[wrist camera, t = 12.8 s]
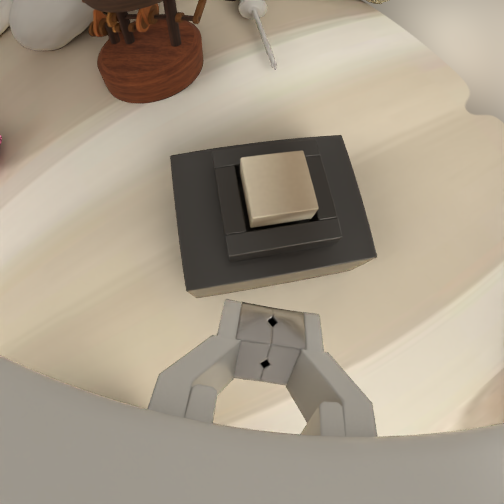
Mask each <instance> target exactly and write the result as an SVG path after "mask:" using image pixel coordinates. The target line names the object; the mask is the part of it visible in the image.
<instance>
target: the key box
mask: <svg viewBox="0 0 504 504" xmlns="http://www.w3.org/2000/svg"><path fill="white" fill-rule="evenodd" d="M292 151H304V155H305V158H306V162H307V165H308V169H309V173H310V176H311V180H312V184H313V188H314V192H315V195H316V199H317V203H318V207H319V209H318V210H317V212H316V213H315V214H314V216H313V217H312V218H311V219H306V220H299V221H293V222H286V223H280V224H273V225H267V226H261V227H254V228H251V227H250V223H249V218H248V213H247V207H246V202H245V197H244V191H243V186H242V181H241V175H240V159H241V158H242V157H250V156H258V155H266V154H274V153H283V152H292ZM170 160H171V171H172V181H173V191H174V200H175V210H176V218H177V227H178V235H179V243H180V250H181V258H182V265H183V272H184V279H185V285H186V291H187V292H189V293H190V294H192V295H193V296H195V297H196V298H201V297H207V296H213V295H219V294H225V293H231V292H237V291H243V290H249V289H255V288H260V287H266V286H271V285H277V284H282V283H288V282H293V281H299V280H304V279H309V278H314V277H320V276H325V275H330V274H335V273H340V272H345V271H350V270H352V269H354V268H356V267H358V266H360V265H362V264H364V263H366V262H368V261H370V260H372V259H374V258H376V257H377V255H376V250H375V246H374V242H373V238H372V234H371V231H370V227H369V223H368V219H367V216H366V212H365V208H364V205H363V201H362V198H361V195H360V191H359V188H358V185H357V181H356V178H355V175H354V172H353V168H352V165H351V162H350V159H349V156H348V153H347V150H346V147H345V144H344V141H343V138H342V136H341V135H335V136H320V137H307V138H295V139H285V140H275V141H266V142H257V143H249V144H242V145H234V146H227V147H220V148H214V149H207V150H201V151H195V152H189V153H183V154H178V155H172V156H170Z"/></svg>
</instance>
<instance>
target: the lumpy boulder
mask: <svg viewBox="0 0 504 504" xmlns="http://www.w3.org/2000/svg"><path fill="white" fill-rule="evenodd" d="M367 1H368V2H372V3H375V4H382V3H383V2H385V1H388V0H367Z"/></svg>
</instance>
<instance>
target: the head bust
mask: <svg viewBox="0 0 504 504" xmlns="http://www.w3.org/2000/svg"><path fill="white" fill-rule="evenodd" d="M93 10H94V9H93V8H91V7H90V6H88V5H87V4H86V3H83V2H82V0H13V2H12V5H11V9H10V13H9V25H10V28H11V31H12V34H13V36H14V38H15V39H16V40H17V41H18V42H19V43H20V44H21V45H22V46H23V47H25V48H28V49H31V50H34V51H47V50H57V49H59V48H61V47H63V46H65V45H66V44H67V43H69V42H70V41H71V40H72V39H73V38H74V37H76V36H77V35H79V34H80V33H82V32H83V31H84V30H85V29H86V28H87V27H88V26H89V25H90V23H91V22H92V21H93Z"/></svg>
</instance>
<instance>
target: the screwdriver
mask: <svg viewBox="0 0 504 504" xmlns="http://www.w3.org/2000/svg"><path fill="white" fill-rule="evenodd" d="M239 1H240V3H239V12H240V14H241V15H242V16H243V17H244V18H247V19H255V22H256V24H257V27H258V30H259V32H260V35H261V38H262V41H263V43H264V46H265V49H266V52H267V55H268V58H269V60H270V63H271V66H272V67H273V68H274V69H275V70H276V66H277V64H276V61H275V58H274V55H273V52H272V50H271V47H270V44H269V41H268V39H267V36H266V33H265V31H264V28H263V26H262V23H261V21H260V18H261V17H263V16H264V15H265V13H266V12H267V4H266V3H265V1H264V0H239Z"/></svg>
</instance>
